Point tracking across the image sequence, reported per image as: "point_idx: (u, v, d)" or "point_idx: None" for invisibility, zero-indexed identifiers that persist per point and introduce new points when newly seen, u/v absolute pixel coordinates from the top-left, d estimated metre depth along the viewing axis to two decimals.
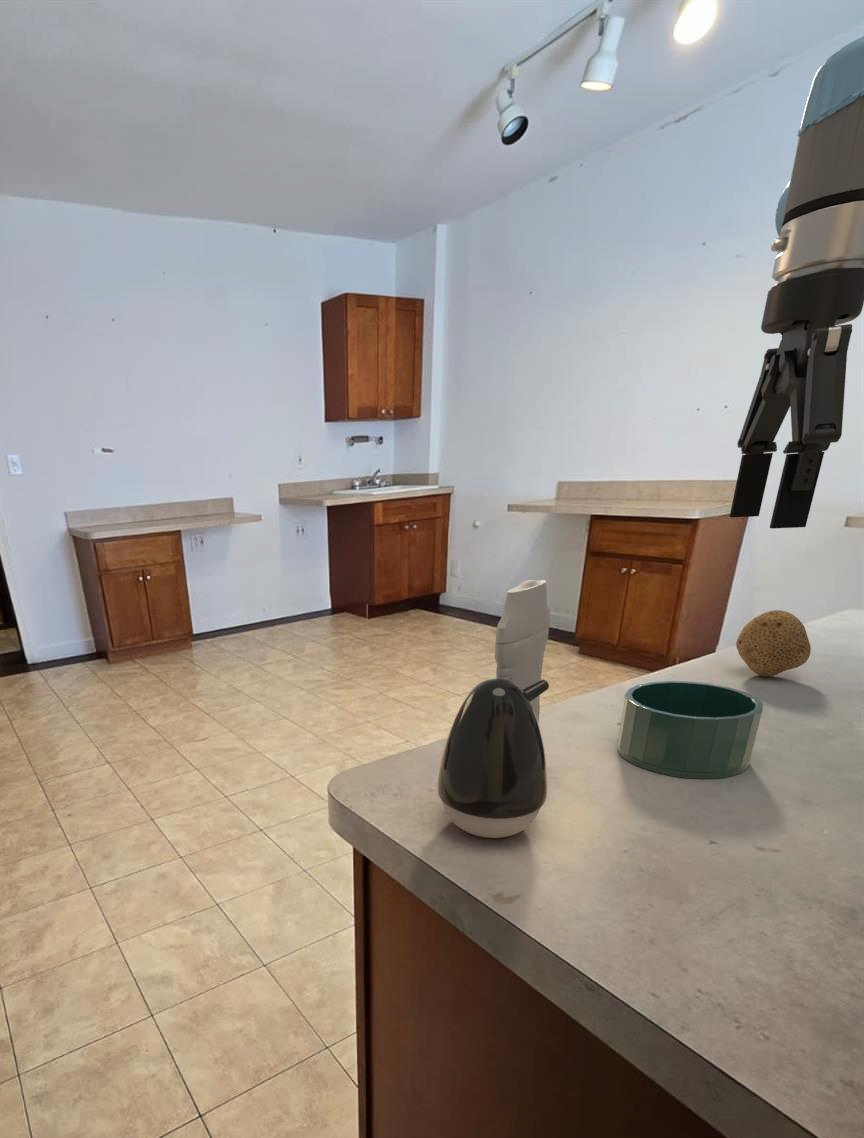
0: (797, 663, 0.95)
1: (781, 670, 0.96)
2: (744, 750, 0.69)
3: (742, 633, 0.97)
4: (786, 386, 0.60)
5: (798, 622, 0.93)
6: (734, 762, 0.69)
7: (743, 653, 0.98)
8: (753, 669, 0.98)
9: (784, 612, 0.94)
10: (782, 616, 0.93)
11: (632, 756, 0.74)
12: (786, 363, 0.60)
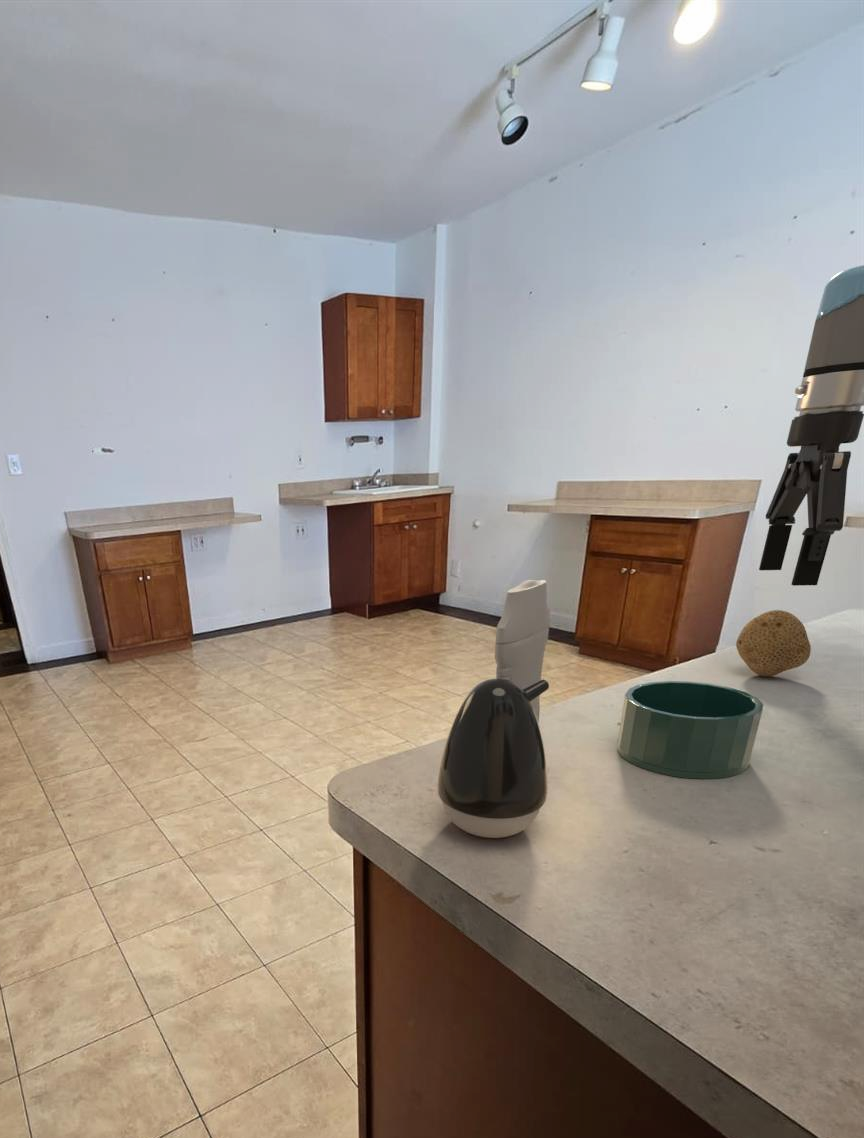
0: (797, 663, 0.95)
1: (781, 670, 0.96)
2: (744, 750, 0.69)
3: (742, 633, 0.97)
4: (804, 487, 0.85)
5: (798, 622, 0.93)
6: (734, 762, 0.69)
7: (743, 653, 0.98)
8: (753, 669, 0.98)
9: (784, 612, 0.94)
10: (782, 616, 0.93)
11: (632, 756, 0.74)
12: (804, 470, 0.86)
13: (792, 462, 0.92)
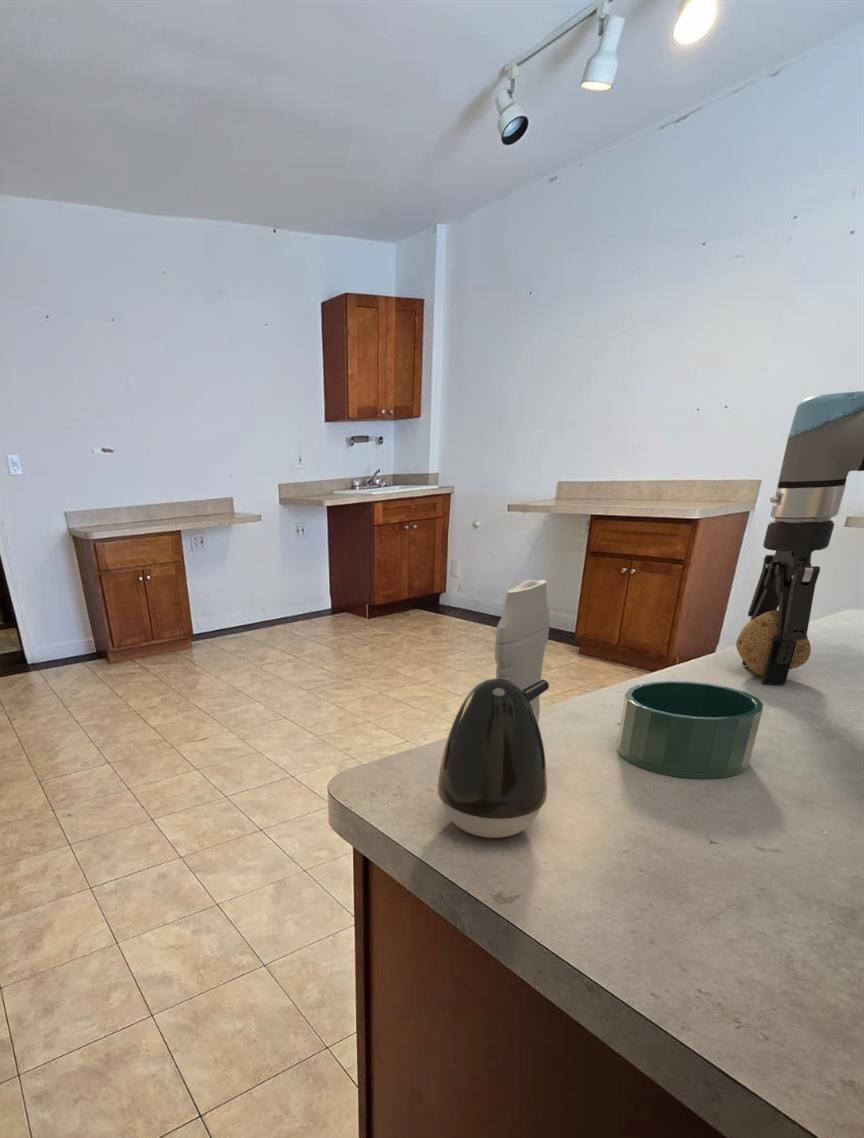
0: (797, 663, 0.95)
1: None
2: (744, 750, 0.69)
3: (742, 633, 0.97)
4: (777, 591, 0.92)
5: None
6: (734, 762, 0.69)
7: (743, 653, 0.98)
8: (753, 669, 0.98)
9: None
10: None
11: (632, 756, 0.74)
12: (779, 573, 0.91)
13: (769, 563, 0.97)
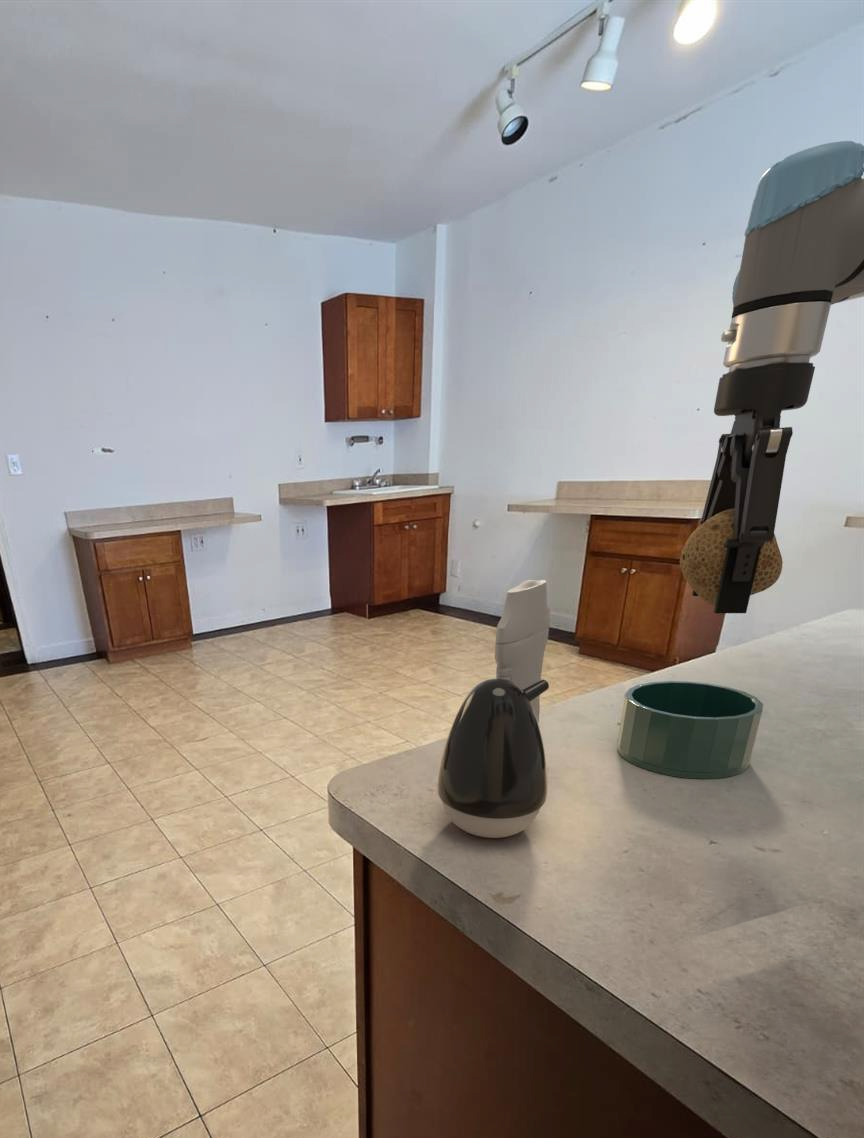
0: (764, 584, 0.66)
1: None
2: (744, 750, 0.69)
3: (686, 544, 0.68)
4: (733, 475, 0.63)
5: None
6: (734, 762, 0.69)
7: (688, 573, 0.69)
8: (702, 596, 0.69)
9: None
10: None
11: (632, 756, 0.74)
12: (736, 448, 0.62)
13: None
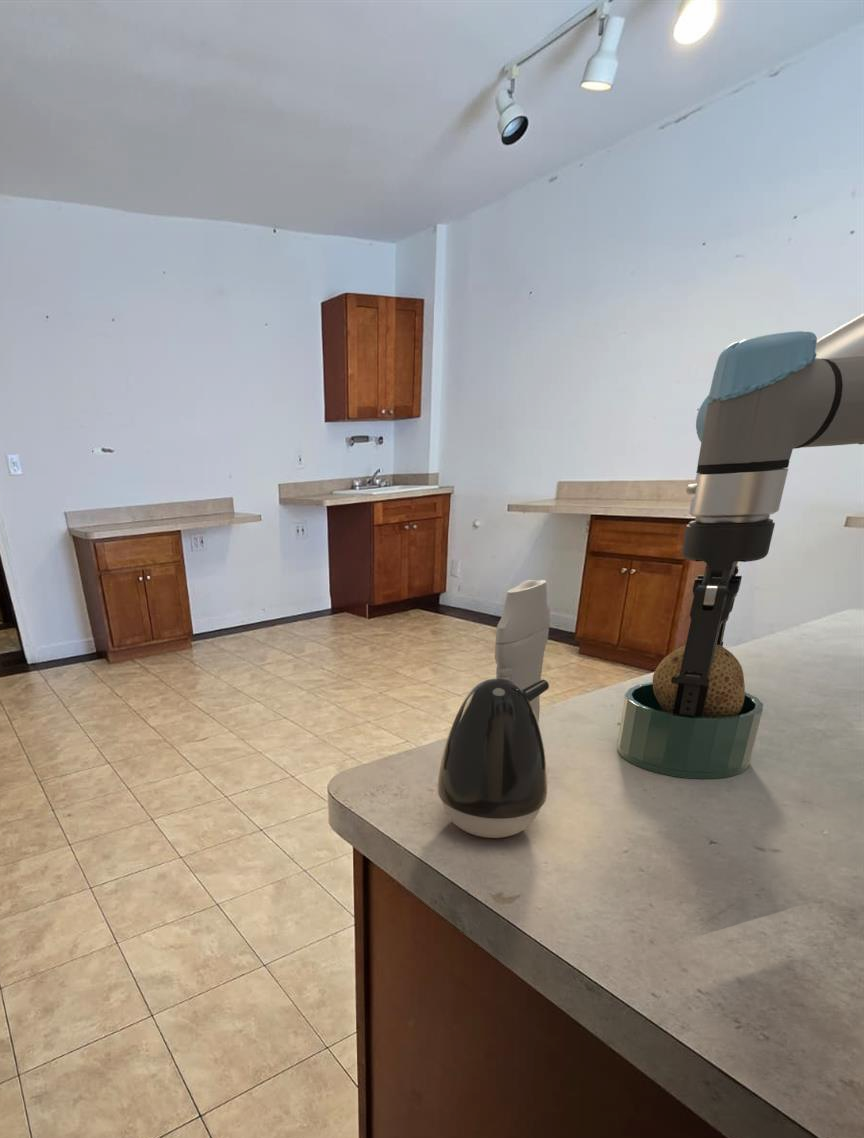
0: None
1: None
2: (744, 750, 0.69)
3: (656, 669, 0.73)
4: None
5: (722, 660, 0.67)
6: (734, 762, 0.69)
7: (656, 696, 0.73)
8: None
9: None
10: None
11: (632, 756, 0.74)
12: (694, 591, 0.67)
13: None
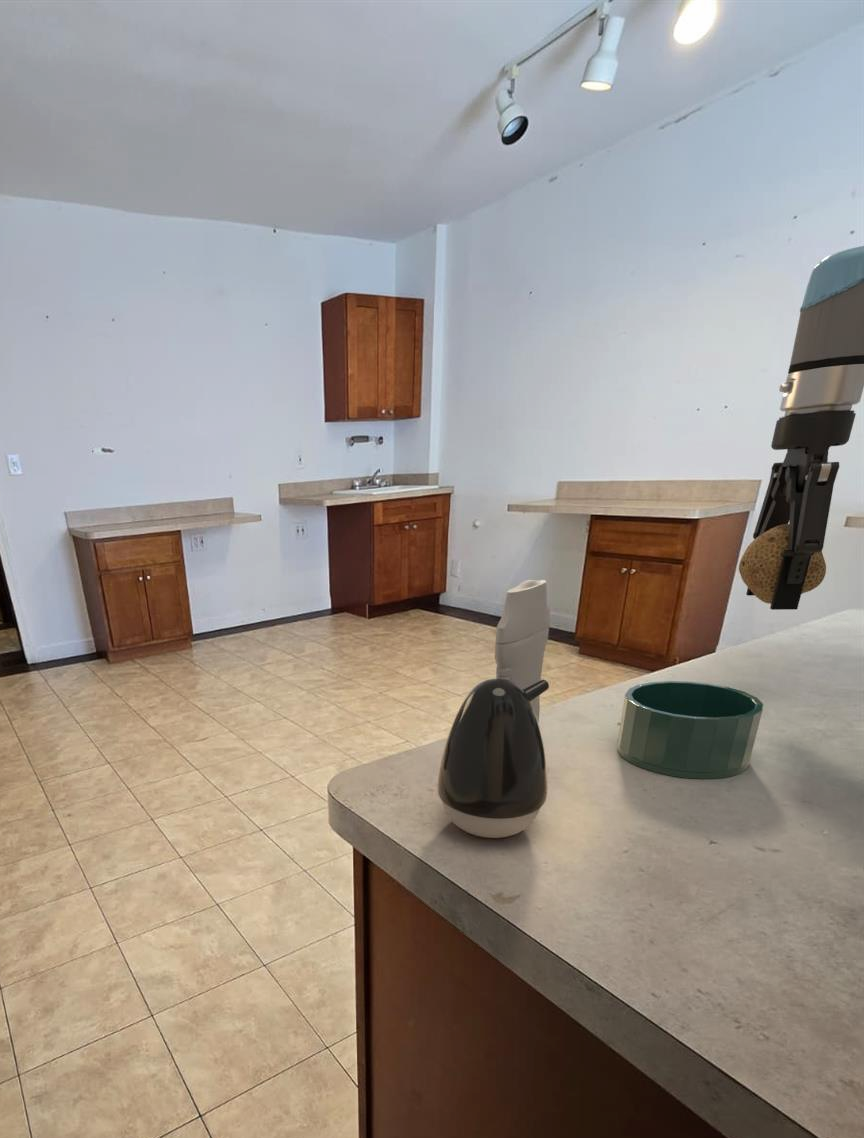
0: (810, 585, 0.81)
1: None
2: (744, 750, 0.69)
3: (746, 553, 0.84)
4: (788, 498, 0.78)
5: None
6: (734, 762, 0.69)
7: (747, 576, 0.84)
8: (759, 595, 0.84)
9: None
10: None
11: (632, 756, 0.74)
12: (791, 476, 0.78)
13: (777, 471, 0.84)
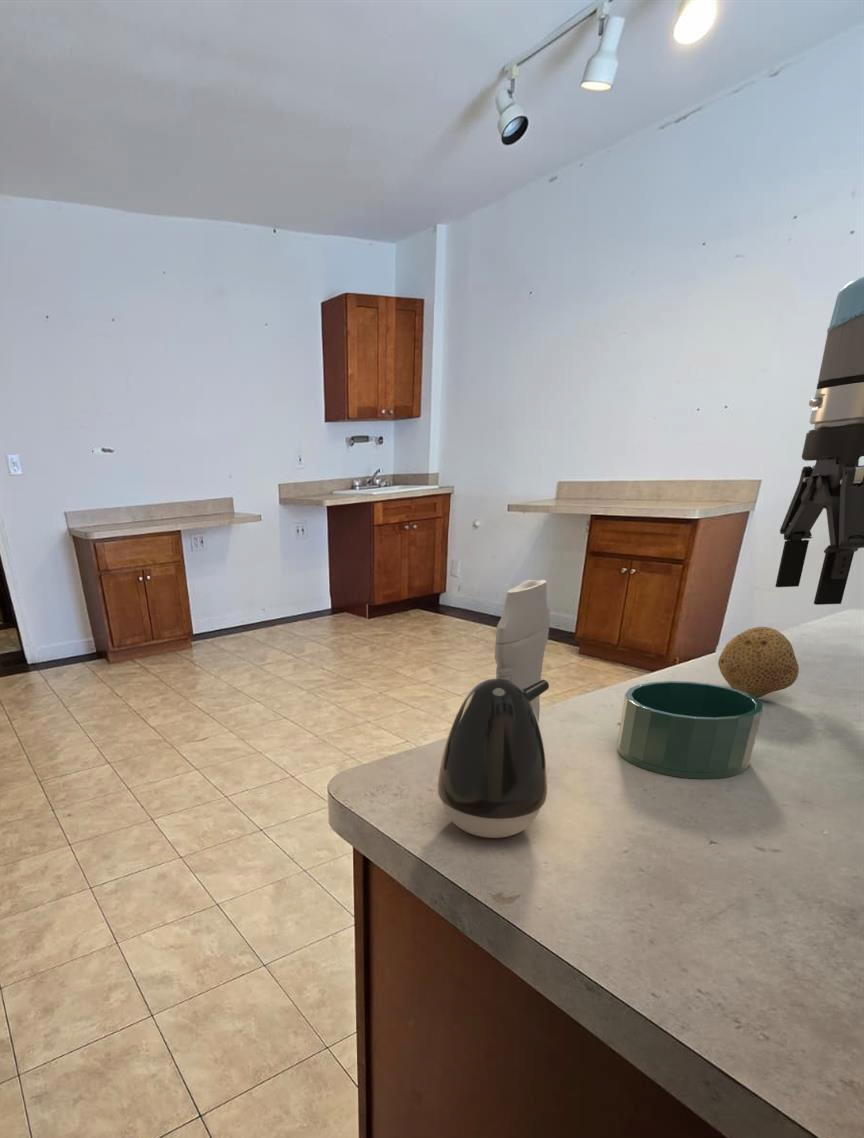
0: (784, 685, 0.87)
1: (767, 692, 0.88)
2: (744, 750, 0.69)
3: (724, 651, 0.89)
4: (823, 502, 0.82)
5: (785, 640, 0.85)
6: (734, 762, 0.69)
7: (726, 673, 0.90)
8: None
9: (769, 629, 0.86)
10: (767, 634, 0.86)
11: (632, 756, 0.74)
12: (822, 485, 0.82)
13: (807, 476, 0.88)
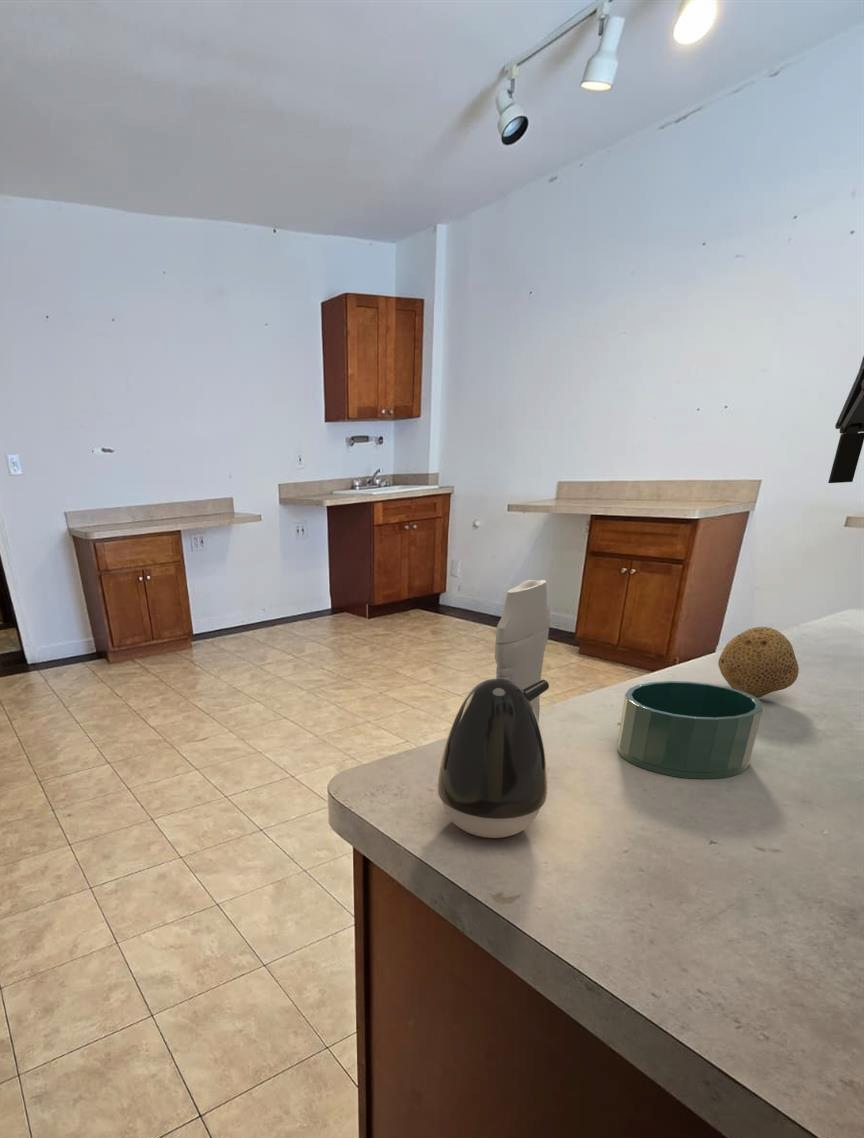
0: (784, 685, 0.87)
1: (767, 692, 0.88)
2: (744, 750, 0.69)
3: (724, 651, 0.89)
4: None
5: (785, 640, 0.85)
6: (734, 762, 0.69)
7: (726, 673, 0.90)
8: None
9: (770, 629, 0.86)
10: (767, 634, 0.86)
11: (632, 756, 0.74)
12: None
13: None
